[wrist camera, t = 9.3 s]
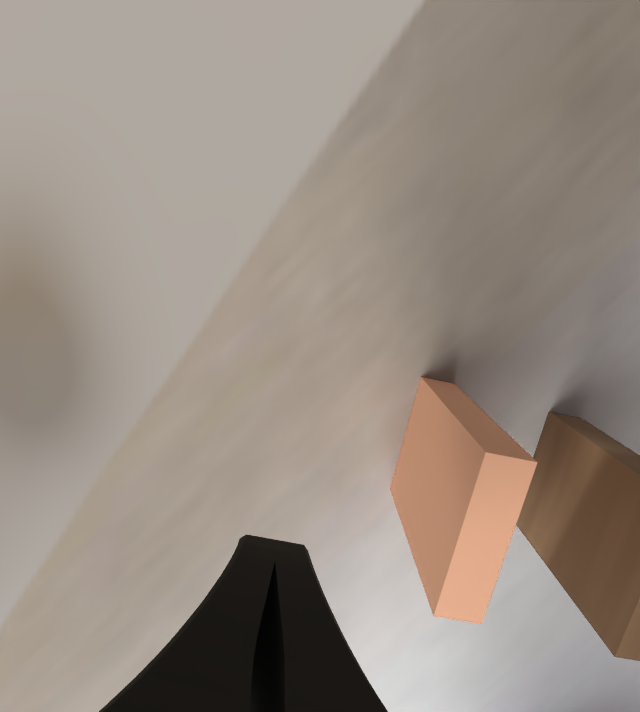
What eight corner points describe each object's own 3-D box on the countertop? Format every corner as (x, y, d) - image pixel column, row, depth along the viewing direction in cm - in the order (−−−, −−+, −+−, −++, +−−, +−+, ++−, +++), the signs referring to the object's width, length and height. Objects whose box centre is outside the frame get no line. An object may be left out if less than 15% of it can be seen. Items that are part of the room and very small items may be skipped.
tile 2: (580, 418, 20) (727, 511, 13) (543, 525, 21) (660, 664, 14) (548, 411, 19) (679, 503, 13) (512, 519, 21) (614, 656, 14)
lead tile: (454, 383, 19) (537, 462, 12) (421, 495, 20) (481, 624, 13) (420, 376, 19) (485, 452, 12) (390, 489, 20) (433, 615, 13)
